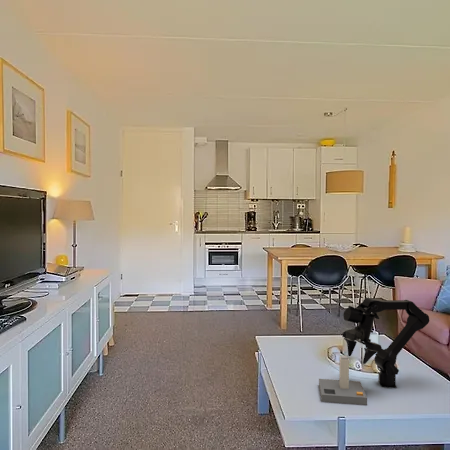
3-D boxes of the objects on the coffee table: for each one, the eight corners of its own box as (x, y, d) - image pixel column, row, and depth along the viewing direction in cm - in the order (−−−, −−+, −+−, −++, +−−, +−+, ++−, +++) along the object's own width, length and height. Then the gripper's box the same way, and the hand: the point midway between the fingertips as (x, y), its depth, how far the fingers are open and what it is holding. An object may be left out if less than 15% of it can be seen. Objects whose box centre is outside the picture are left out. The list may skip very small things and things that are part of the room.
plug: (347, 385, 173) (347, 355, 173) (348, 388, 170) (348, 358, 169) (339, 384, 174) (339, 354, 173) (340, 388, 170) (340, 357, 170)
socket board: (360, 387, 177) (360, 379, 177) (367, 405, 162) (367, 395, 161) (318, 385, 180) (318, 376, 180) (321, 401, 164) (321, 392, 164)
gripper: (337, 317, 183) (329, 349, 182) (367, 329, 166) (358, 365, 166) (355, 321, 188) (347, 353, 187) (386, 333, 171) (377, 369, 170)
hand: (356, 359), depth 177 cm, fingers open, 9 cm apart
